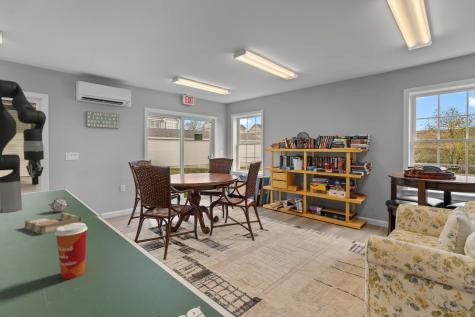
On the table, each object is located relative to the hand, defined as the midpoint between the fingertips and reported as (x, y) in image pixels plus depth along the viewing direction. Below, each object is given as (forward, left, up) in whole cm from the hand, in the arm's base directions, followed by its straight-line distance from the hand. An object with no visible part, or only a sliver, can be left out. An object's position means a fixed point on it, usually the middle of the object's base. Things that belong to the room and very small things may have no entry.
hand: (35, 184), depth 118 cm
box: (+17, 0, -18) cm, 25 cm away
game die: (-8, +13, -19) cm, 24 cm away
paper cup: (+72, -18, -19) cm, 76 cm away
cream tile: (+12, -3, -19) cm, 22 cm away
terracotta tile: (+18, -2, -19) cm, 26 cm away
